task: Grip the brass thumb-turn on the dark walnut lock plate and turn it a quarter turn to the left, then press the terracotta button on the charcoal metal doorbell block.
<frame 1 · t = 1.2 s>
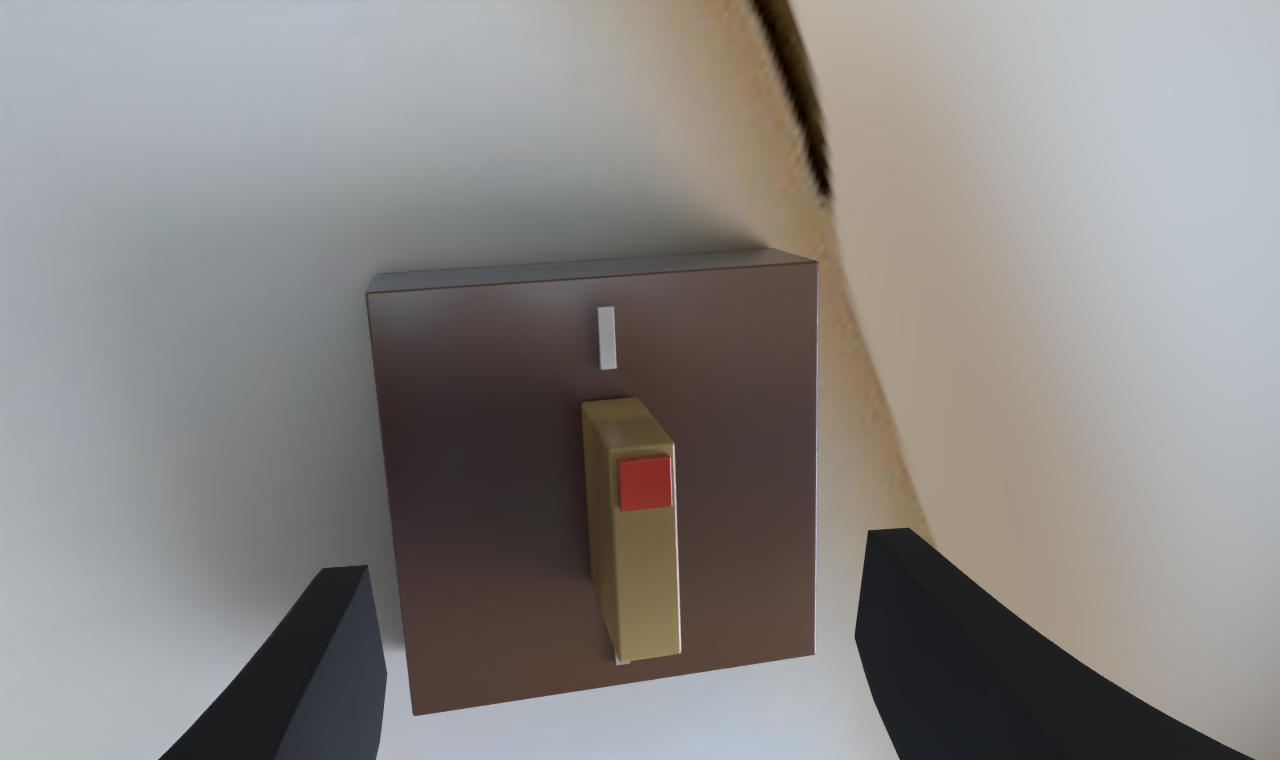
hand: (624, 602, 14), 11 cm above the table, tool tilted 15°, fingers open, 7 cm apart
thumbturn: (630, 523, 20), point 5 cm above the table, hinge at 0.0°
lock plate: (592, 452, 24), on the table
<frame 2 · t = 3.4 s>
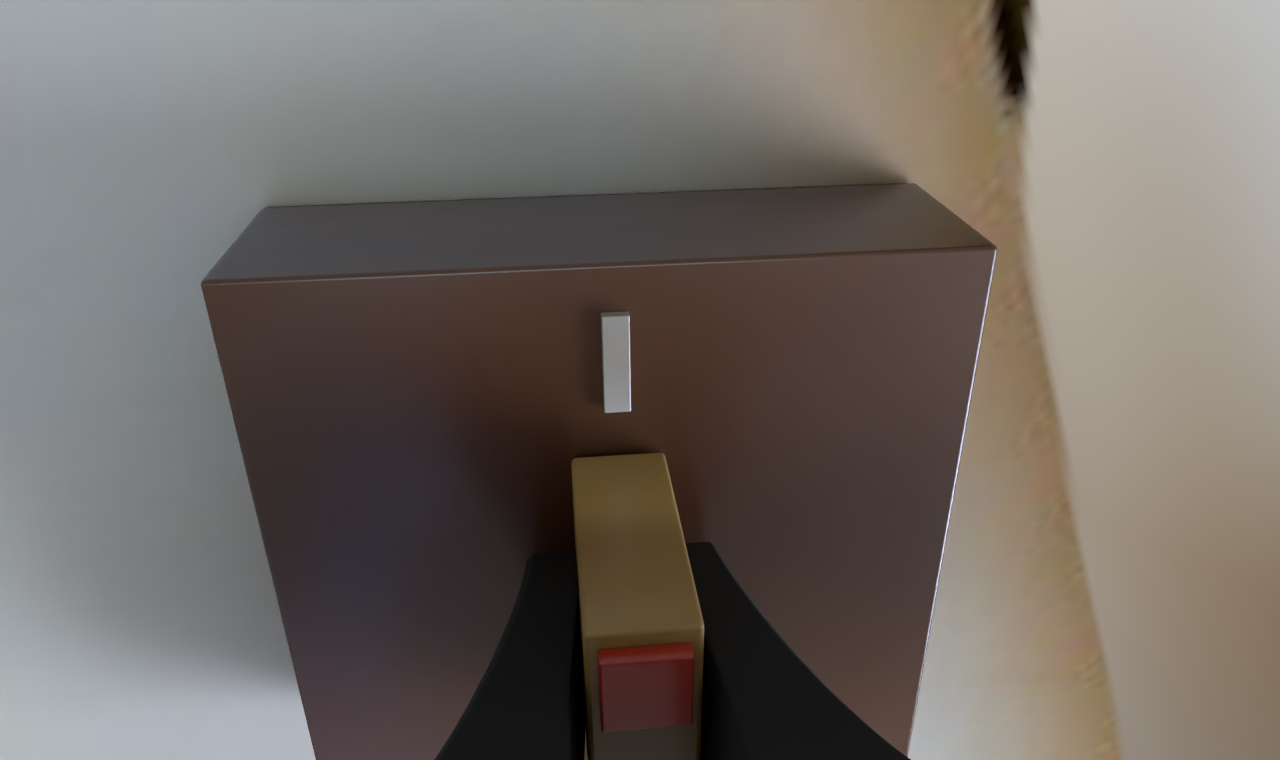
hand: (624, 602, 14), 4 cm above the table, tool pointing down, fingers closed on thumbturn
thumbturn: (632, 674, 12), point 5 cm above the table, hinge at 0.1°, touching gripper
lock plate: (606, 469, 17), on the table
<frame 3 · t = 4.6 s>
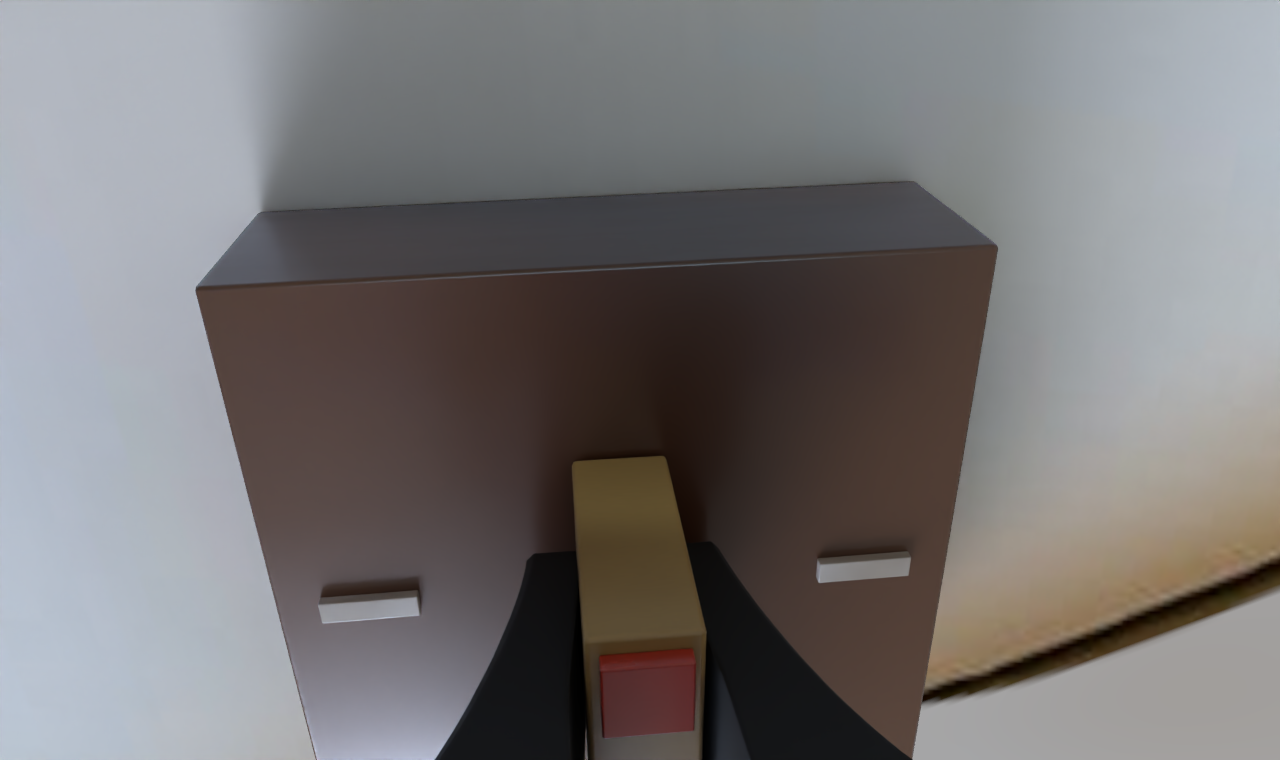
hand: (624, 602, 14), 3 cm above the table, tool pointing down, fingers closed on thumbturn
thumbturn: (633, 679, 12), point 5 cm above the table, hinge at 89.5°, touching gripper
lock plate: (607, 471, 17), on the table
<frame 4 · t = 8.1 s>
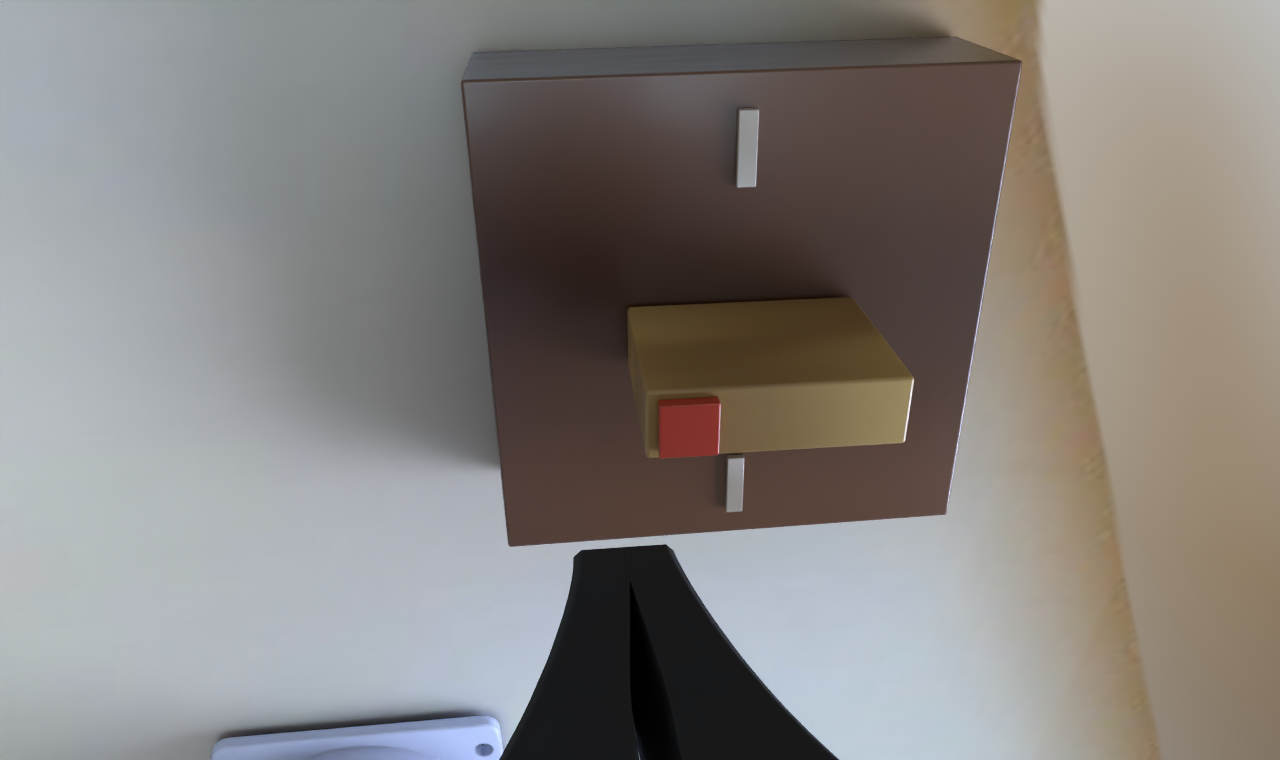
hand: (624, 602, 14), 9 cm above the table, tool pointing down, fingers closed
thumbturn: (759, 373, 17), point 5 cm above the table, hinge at 89.5°
lock plate: (714, 274, 21), on the table
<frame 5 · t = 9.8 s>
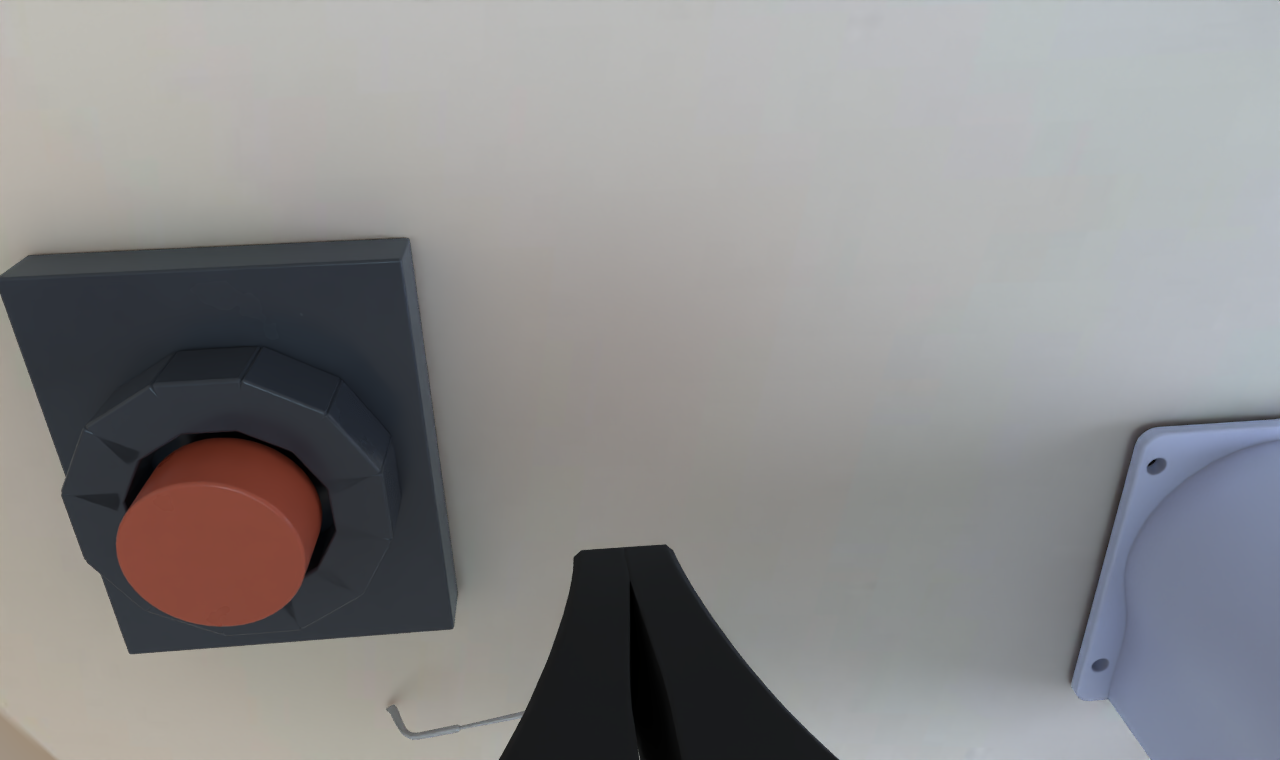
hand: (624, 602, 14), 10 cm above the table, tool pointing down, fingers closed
bell button: (224, 532, 19), point 4 cm above the table, slide at 0.1 cm
bell block: (267, 443, 23), on the table
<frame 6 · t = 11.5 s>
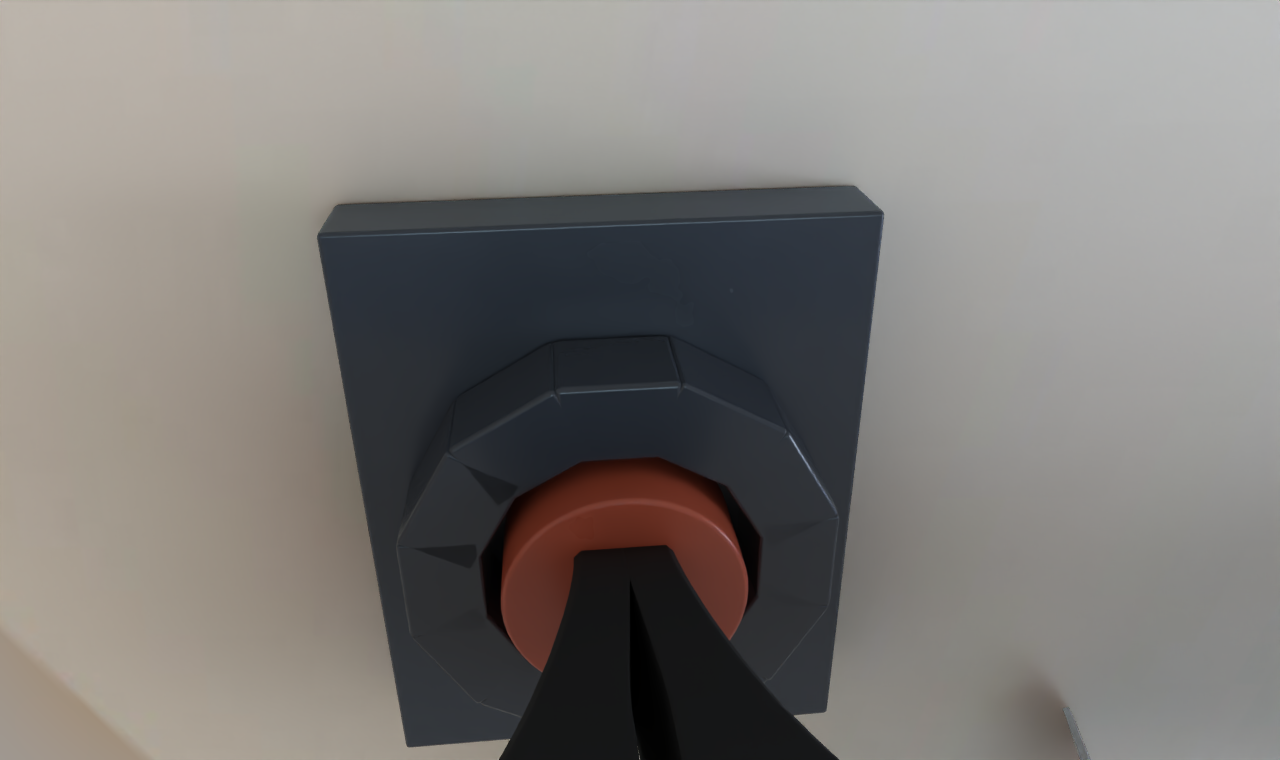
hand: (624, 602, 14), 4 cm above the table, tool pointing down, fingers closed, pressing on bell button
bell button: (621, 565, 14), point 3 cm above the table, slide at -0.7 cm, touching gripper
bell block: (609, 468, 17), on the table
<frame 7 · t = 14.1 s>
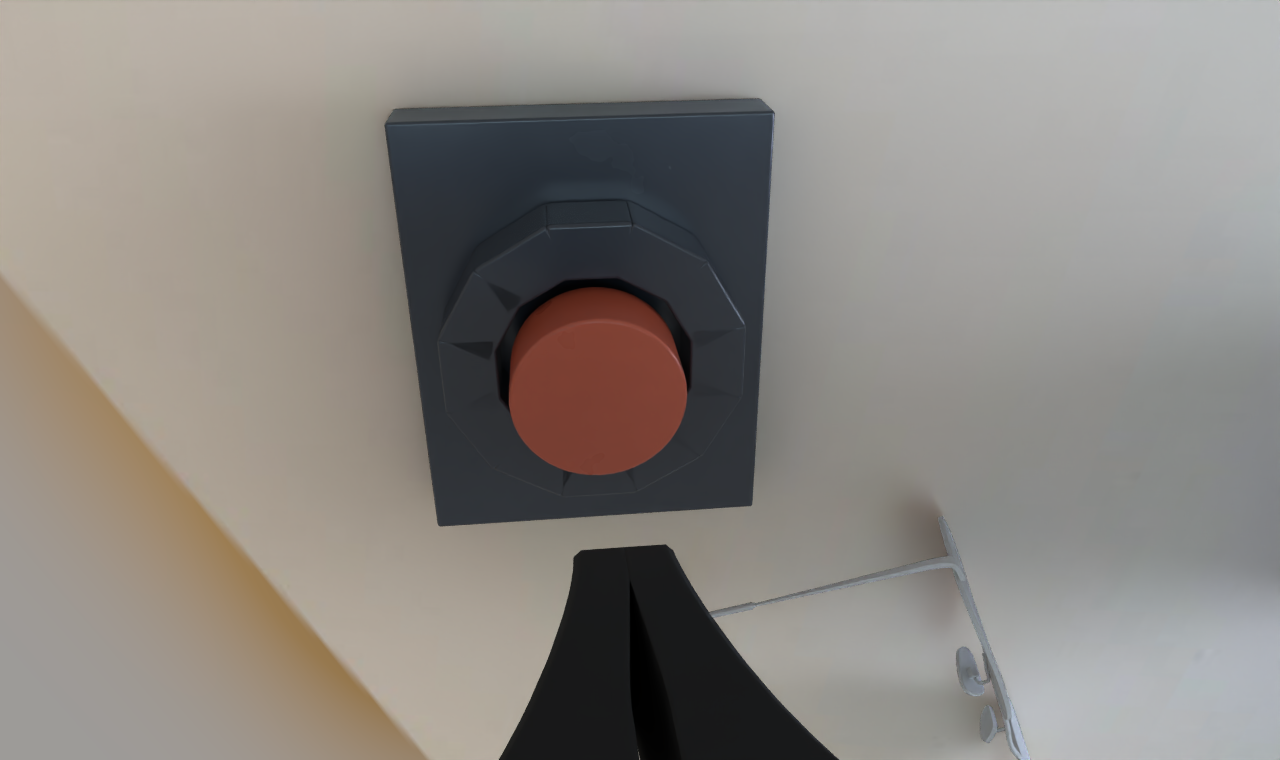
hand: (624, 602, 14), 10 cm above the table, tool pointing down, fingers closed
bell button: (596, 381, 20), point 4 cm above the table, slide at 0.1 cm
bell block: (587, 314, 23), on the table
sunglasses: (855, 677, 30), on the table
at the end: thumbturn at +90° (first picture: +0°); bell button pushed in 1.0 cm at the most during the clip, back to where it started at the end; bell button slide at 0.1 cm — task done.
